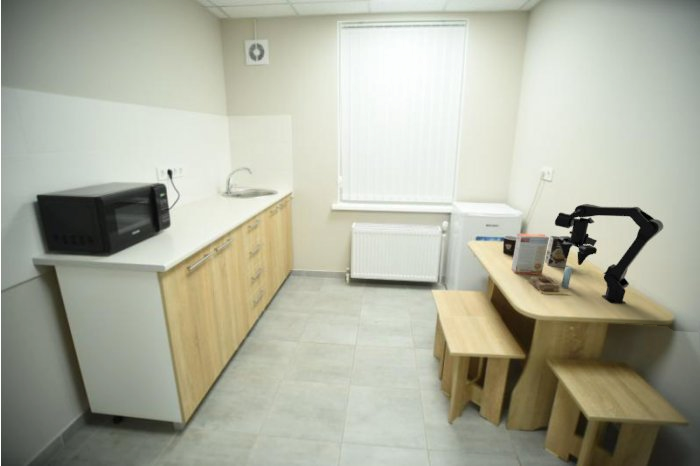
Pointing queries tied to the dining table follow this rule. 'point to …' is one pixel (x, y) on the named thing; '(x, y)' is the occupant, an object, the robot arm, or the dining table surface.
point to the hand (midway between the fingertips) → (572, 261)
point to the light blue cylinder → (566, 277)
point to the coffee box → (555, 253)
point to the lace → (553, 293)
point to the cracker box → (529, 253)
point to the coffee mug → (509, 245)
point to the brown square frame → (544, 284)
